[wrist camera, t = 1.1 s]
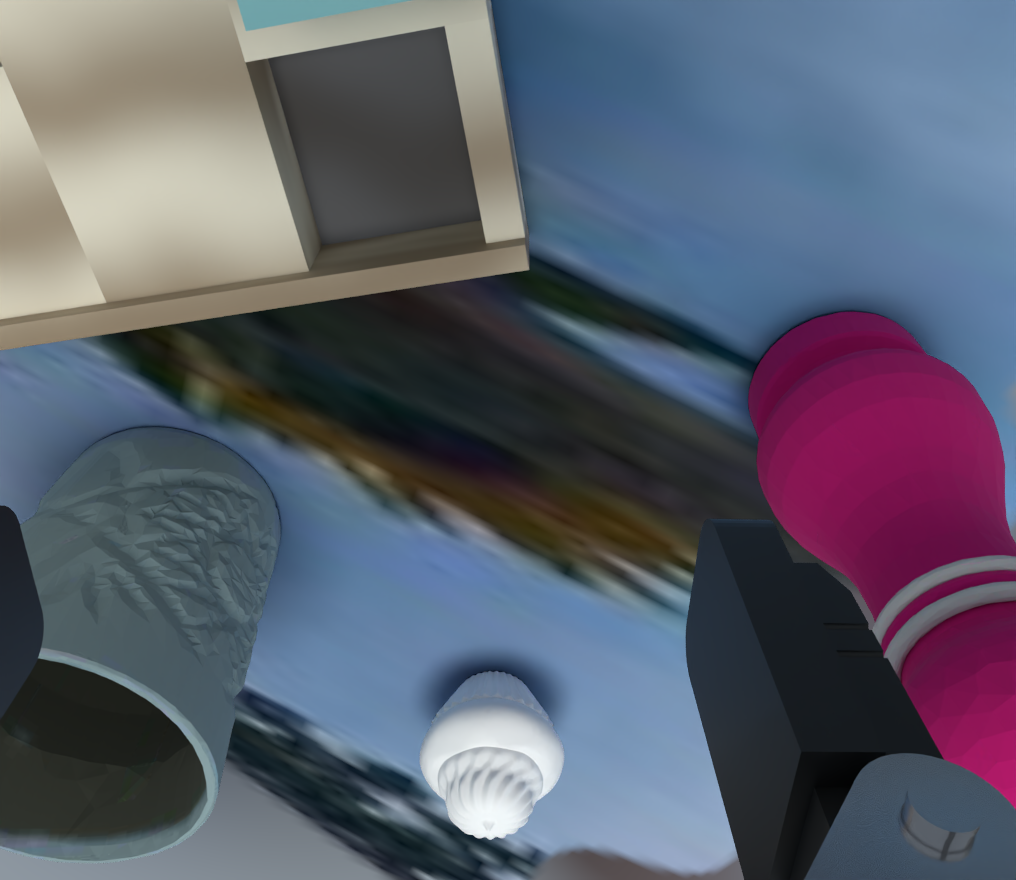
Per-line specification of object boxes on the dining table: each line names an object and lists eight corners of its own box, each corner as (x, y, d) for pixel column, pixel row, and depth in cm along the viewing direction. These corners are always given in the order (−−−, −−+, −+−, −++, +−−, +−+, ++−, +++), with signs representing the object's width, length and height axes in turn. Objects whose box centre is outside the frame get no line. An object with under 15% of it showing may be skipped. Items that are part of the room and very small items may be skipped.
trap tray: (-466, -147, 25) (-638, -146, 21) (433, -351, 22) (414, -391, 19) (-161, 342, 33) (-247, 404, 29) (529, 234, 30) (529, 288, 27)
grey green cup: (334, 472, 36) (258, 718, 26) (257, 640, 41) (168, 901, 31) (71, 371, 34) (-125, 597, 23) (24, 562, 39) (-155, 816, 28)
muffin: (443, 745, 44) (430, 882, 38) (413, 655, 41) (393, 790, 35) (570, 731, 44) (577, 869, 38) (550, 638, 40) (554, 774, 35)
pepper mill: (692, 407, 34) (853, 961, 17) (837, 256, 31) (1214, 757, 14) (832, 500, 36) (1096, 1073, 19) (981, 368, 33) (1458, 920, 16)
